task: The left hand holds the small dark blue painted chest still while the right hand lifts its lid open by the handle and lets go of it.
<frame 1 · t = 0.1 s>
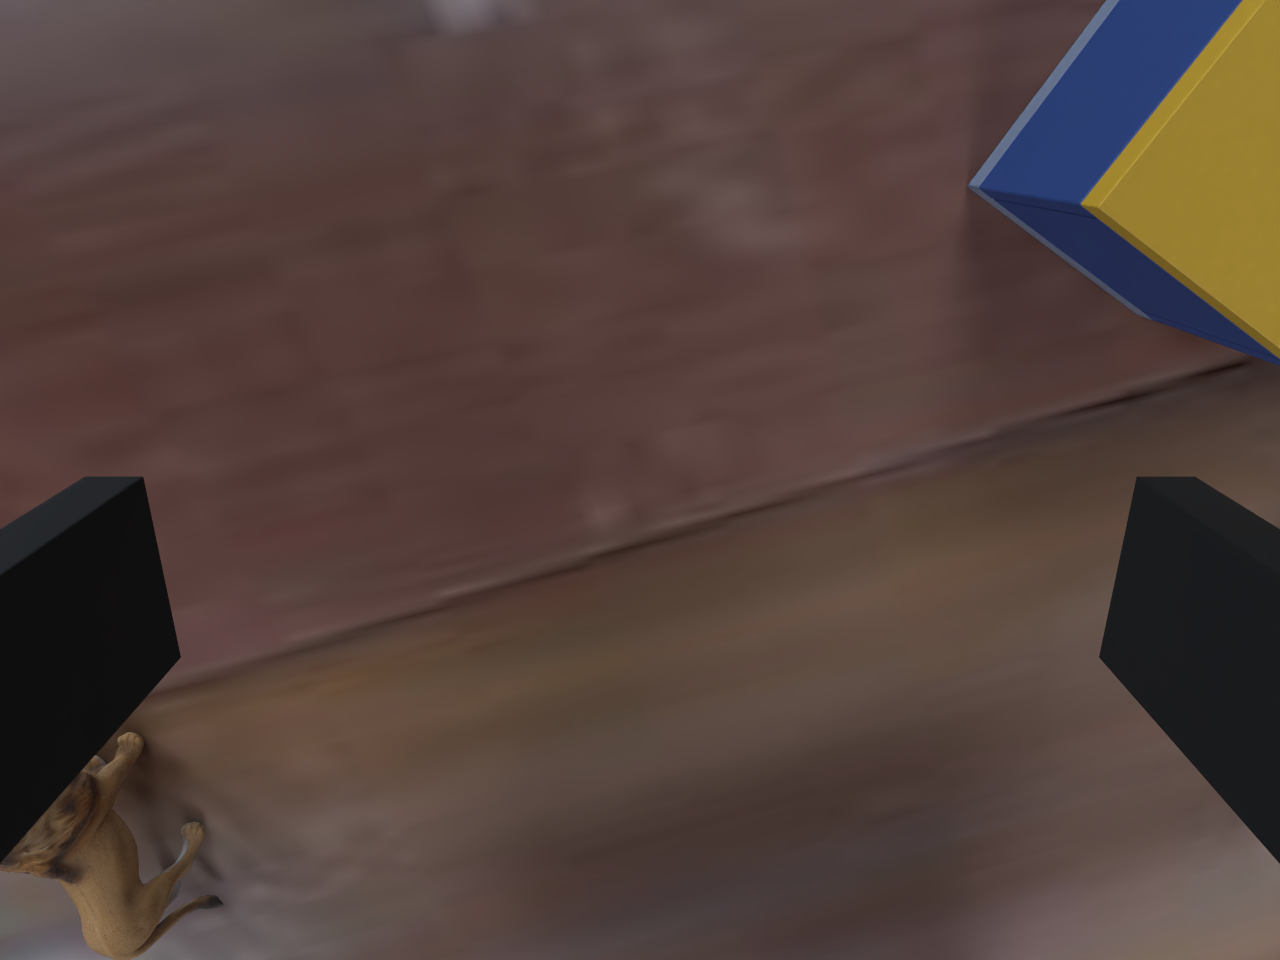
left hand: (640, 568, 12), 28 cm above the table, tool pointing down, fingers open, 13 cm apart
chest: (1185, 88, 36), on the table
lion figurine: (136, 793, 48), on the table
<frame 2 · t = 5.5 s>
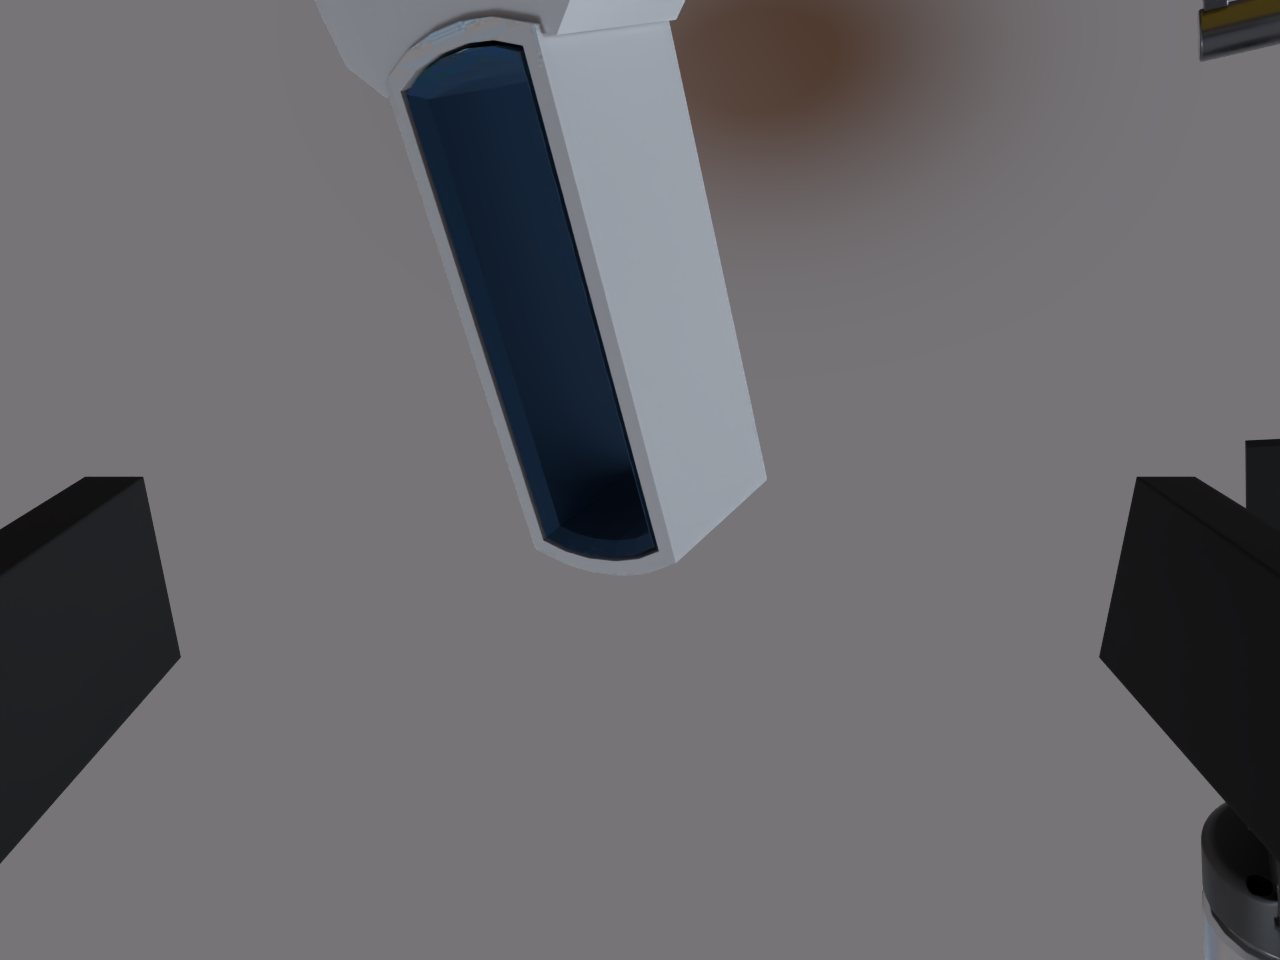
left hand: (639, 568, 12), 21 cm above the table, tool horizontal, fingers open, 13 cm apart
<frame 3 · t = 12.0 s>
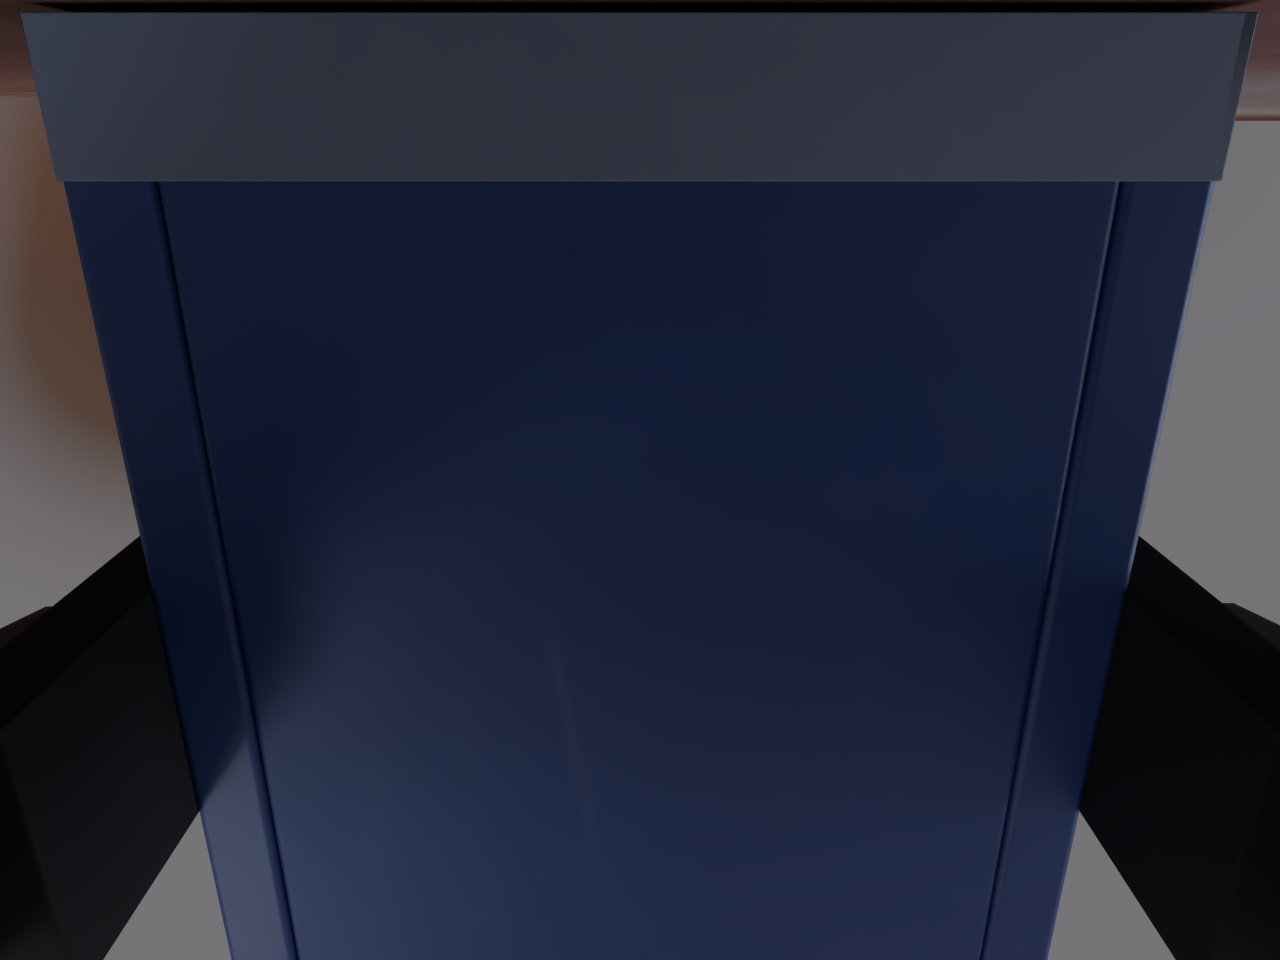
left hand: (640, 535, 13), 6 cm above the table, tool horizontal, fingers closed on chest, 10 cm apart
chest: (639, 71, 14), on the table, touching left hand
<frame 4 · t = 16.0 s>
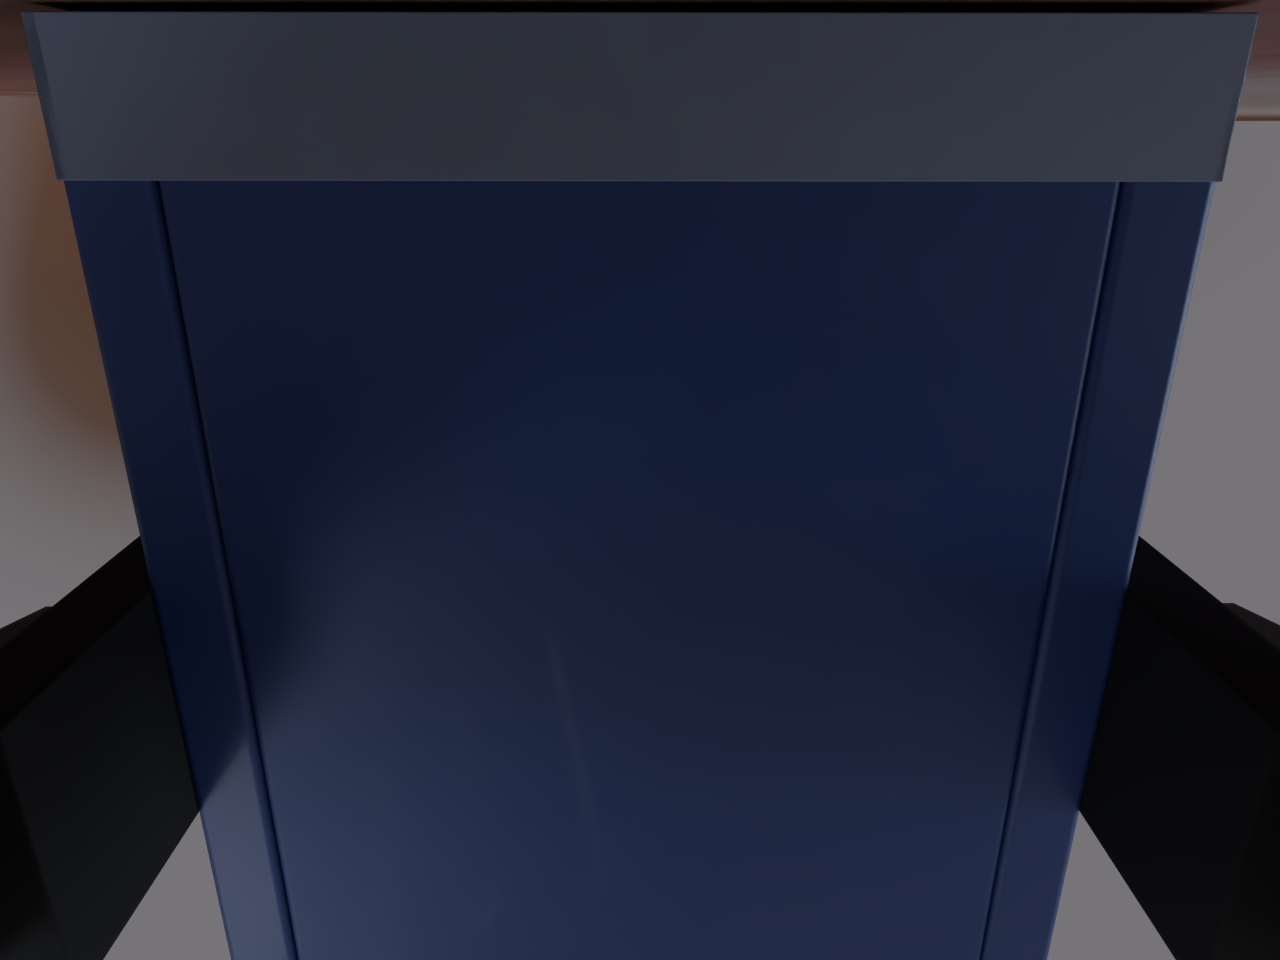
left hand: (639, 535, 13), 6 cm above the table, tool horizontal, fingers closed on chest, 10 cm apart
chest: (640, 71, 14), on the table, touching left hand
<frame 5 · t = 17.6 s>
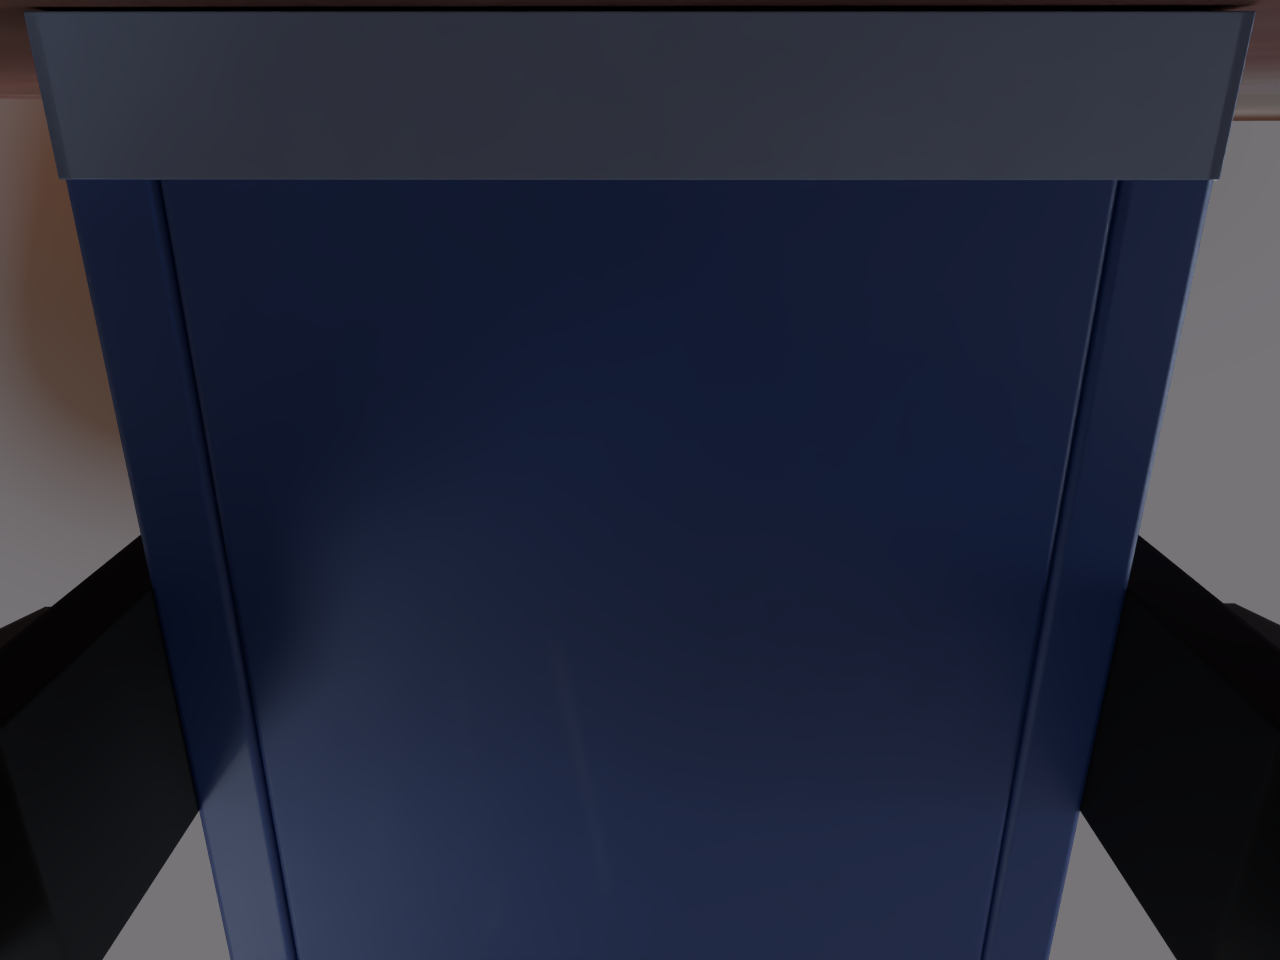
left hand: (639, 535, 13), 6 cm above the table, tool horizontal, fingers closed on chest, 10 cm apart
chest: (640, 74, 14), on the table, touching left hand
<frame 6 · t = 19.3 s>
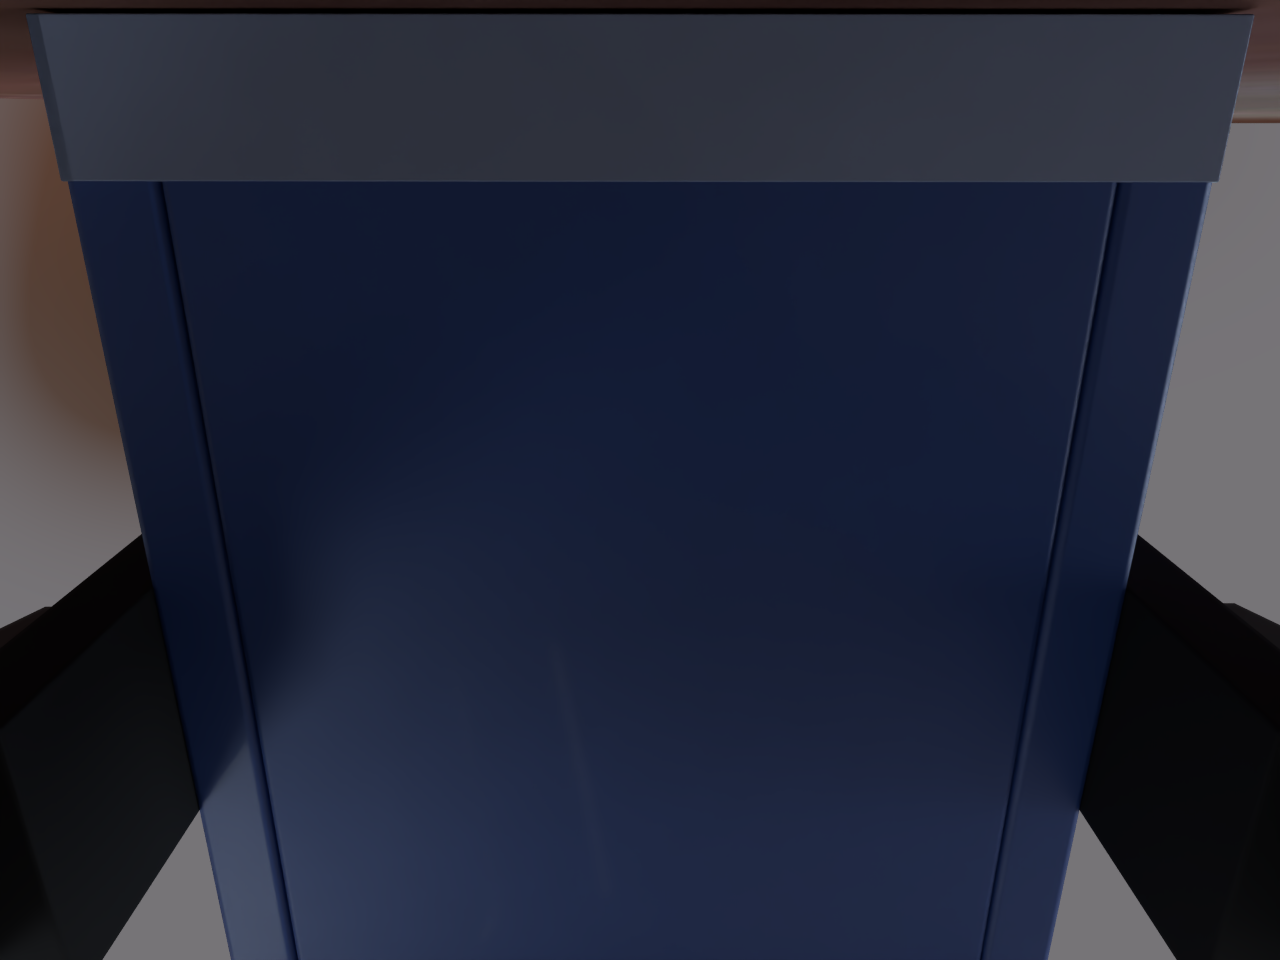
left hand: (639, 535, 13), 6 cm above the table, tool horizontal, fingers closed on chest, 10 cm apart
chest: (641, 75, 14), on the table, touching left hand
when the left hand's fingers open (6 cm above the table, at t = 23.5 s): chest stays where it is, on the table.
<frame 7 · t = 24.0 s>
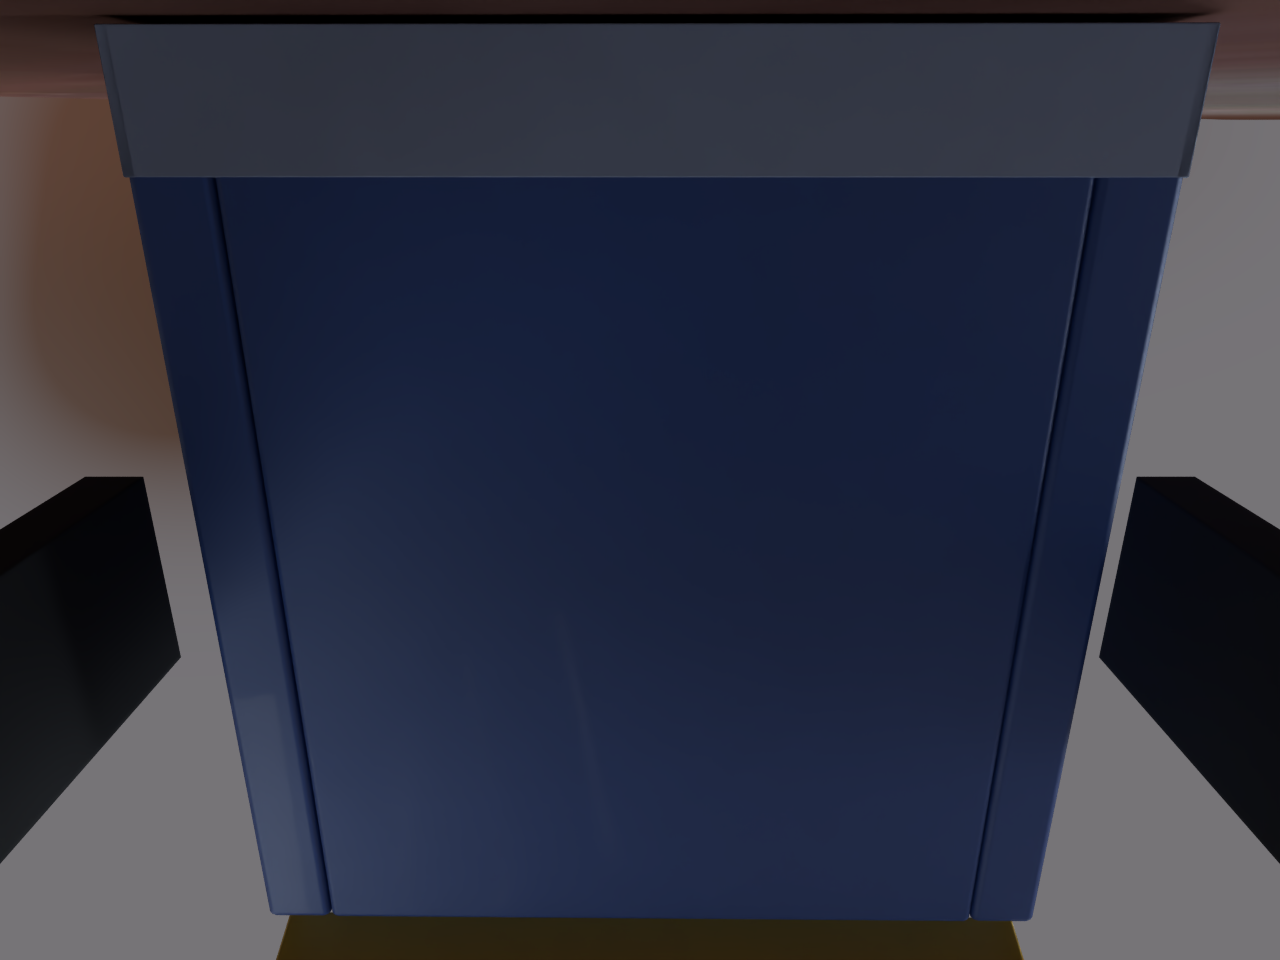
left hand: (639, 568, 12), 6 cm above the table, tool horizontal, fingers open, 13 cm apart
chest: (652, 73, 15), on the table
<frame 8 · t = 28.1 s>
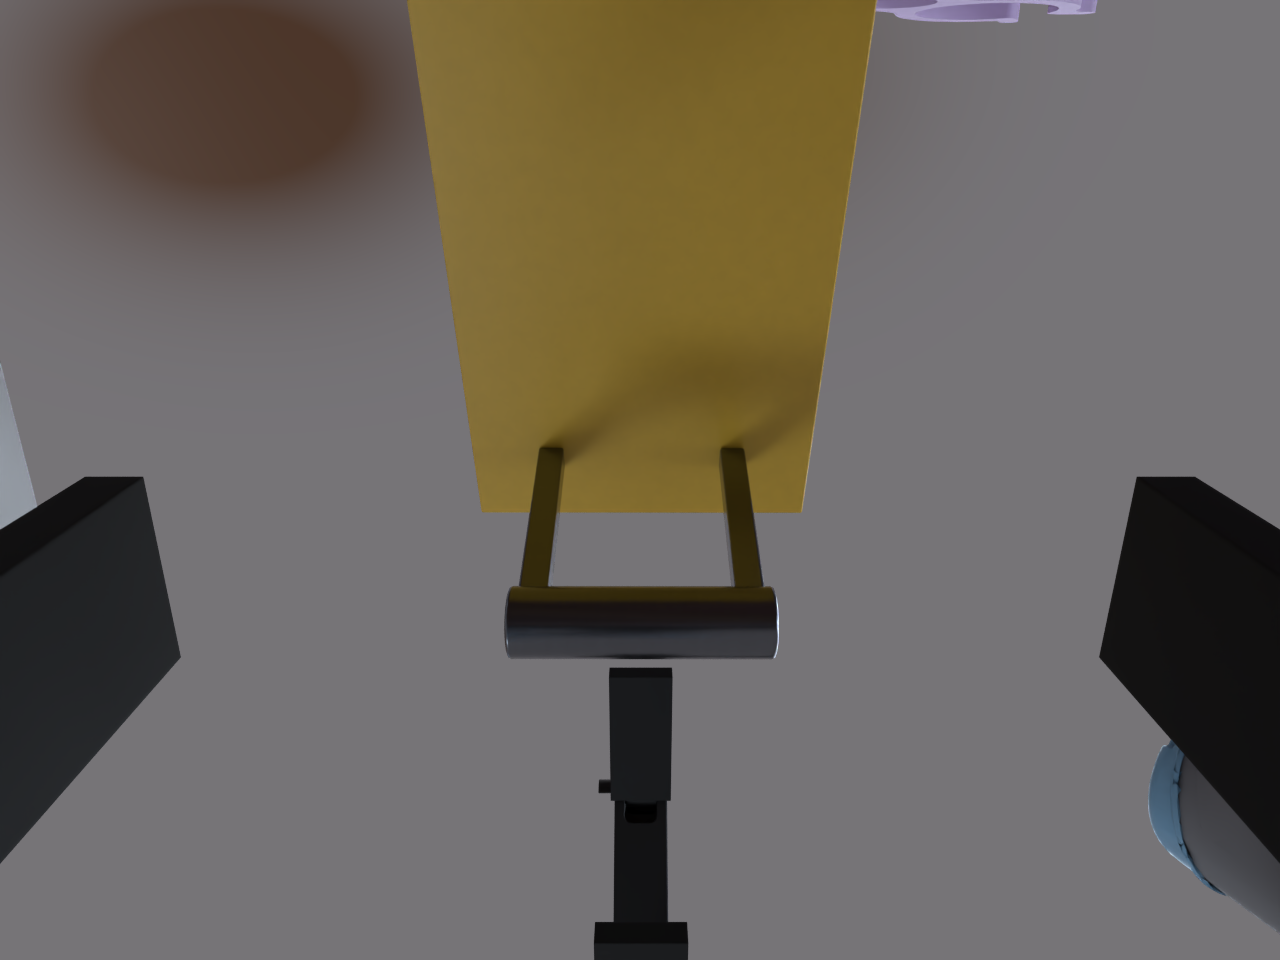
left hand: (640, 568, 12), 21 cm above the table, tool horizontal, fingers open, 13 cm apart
lid: (641, 332, 20), point 19 cm above the table, hinge at 72.0°
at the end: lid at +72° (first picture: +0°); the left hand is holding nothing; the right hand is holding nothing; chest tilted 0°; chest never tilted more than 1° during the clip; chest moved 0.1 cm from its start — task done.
